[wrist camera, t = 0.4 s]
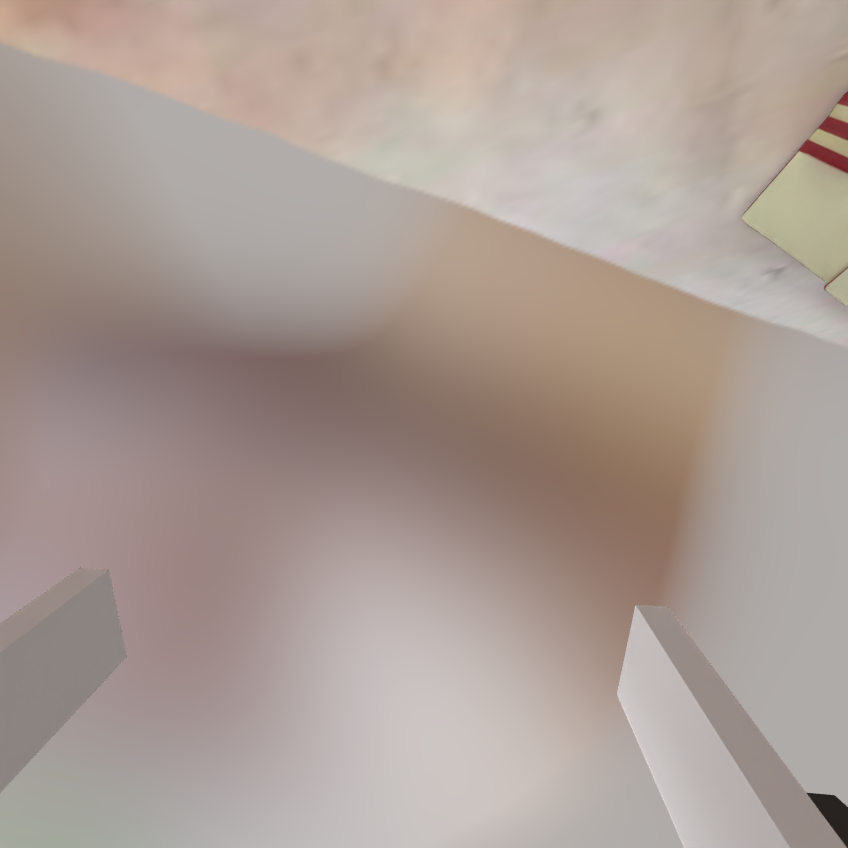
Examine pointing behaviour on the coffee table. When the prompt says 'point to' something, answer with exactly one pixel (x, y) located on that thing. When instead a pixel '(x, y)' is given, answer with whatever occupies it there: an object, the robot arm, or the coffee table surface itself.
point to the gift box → (812, 204)
